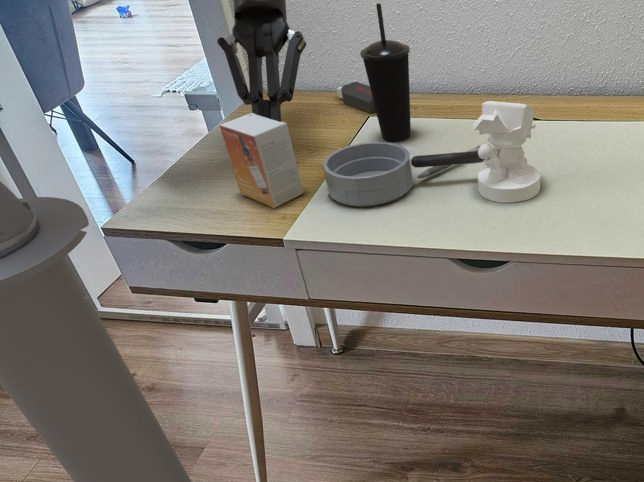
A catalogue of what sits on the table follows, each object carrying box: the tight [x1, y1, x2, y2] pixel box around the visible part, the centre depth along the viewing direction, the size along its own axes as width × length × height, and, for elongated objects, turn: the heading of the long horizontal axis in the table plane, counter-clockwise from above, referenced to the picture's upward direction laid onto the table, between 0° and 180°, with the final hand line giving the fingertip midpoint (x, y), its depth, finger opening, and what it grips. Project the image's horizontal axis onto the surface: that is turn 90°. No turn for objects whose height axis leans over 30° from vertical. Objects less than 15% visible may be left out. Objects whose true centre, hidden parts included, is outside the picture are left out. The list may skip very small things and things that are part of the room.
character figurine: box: [472, 100, 541, 204], centre depth 85 cm, size 9×10×12 cm
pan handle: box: [410, 151, 485, 169], centre depth 89 cm, size 11×2×2 cm, turn 93°
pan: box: [322, 141, 414, 208], centre depth 89 cm, size 12×12×4 cm
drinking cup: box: [359, 2, 412, 143], centre depth 99 cm, size 8×8×20 cm
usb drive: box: [336, 81, 376, 114], centre depth 118 cm, size 5×12×3 cm, turn 43°
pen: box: [416, 144, 482, 180], centre depth 94 cm, size 1×14×1 cm, turn 135°
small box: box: [219, 112, 304, 209], centre depth 88 cm, size 8×6×10 cm
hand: (268, 146), depth 93 cm, fingers closed
